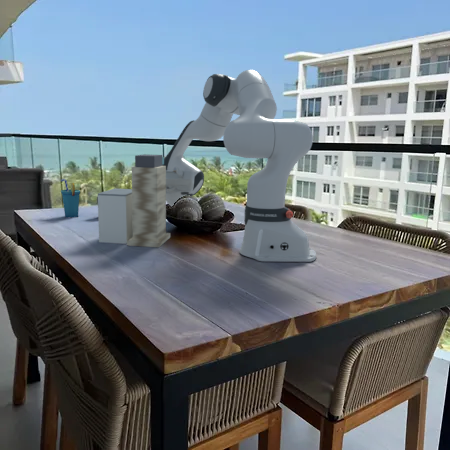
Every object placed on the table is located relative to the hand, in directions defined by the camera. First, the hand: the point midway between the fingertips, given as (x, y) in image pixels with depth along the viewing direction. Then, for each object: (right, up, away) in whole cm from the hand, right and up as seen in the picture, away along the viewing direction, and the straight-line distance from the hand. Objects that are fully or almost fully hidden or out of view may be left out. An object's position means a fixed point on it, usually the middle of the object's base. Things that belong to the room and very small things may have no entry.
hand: (162, 168), depth 156 cm
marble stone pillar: (-3, -25, -10) cm, 27 cm away
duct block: (-13, -24, -7) cm, 28 cm away
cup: (-42, -16, +30) cm, 54 cm away
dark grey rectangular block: (-1, 0, -11) cm, 11 cm away
